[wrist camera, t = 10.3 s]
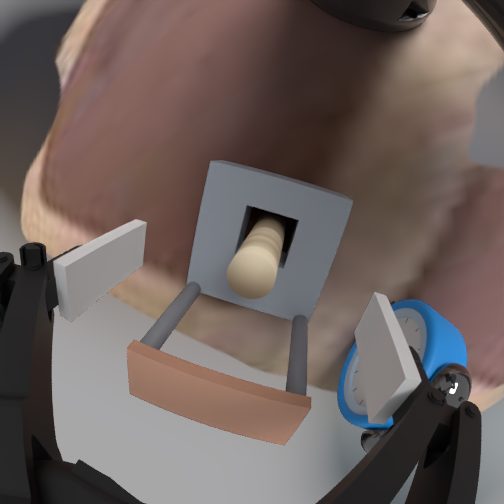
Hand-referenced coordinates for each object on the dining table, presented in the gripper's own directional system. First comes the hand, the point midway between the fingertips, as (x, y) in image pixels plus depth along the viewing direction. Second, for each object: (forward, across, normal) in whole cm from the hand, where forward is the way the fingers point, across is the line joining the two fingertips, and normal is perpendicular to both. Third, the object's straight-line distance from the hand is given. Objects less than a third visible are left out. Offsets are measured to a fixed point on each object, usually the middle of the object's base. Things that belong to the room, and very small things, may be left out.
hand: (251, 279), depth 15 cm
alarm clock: (+13, +16, -9) cm, 22 cm away
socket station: (+13, 0, -4) cm, 13 cm away
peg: (+13, 0, -1) cm, 13 cm away
